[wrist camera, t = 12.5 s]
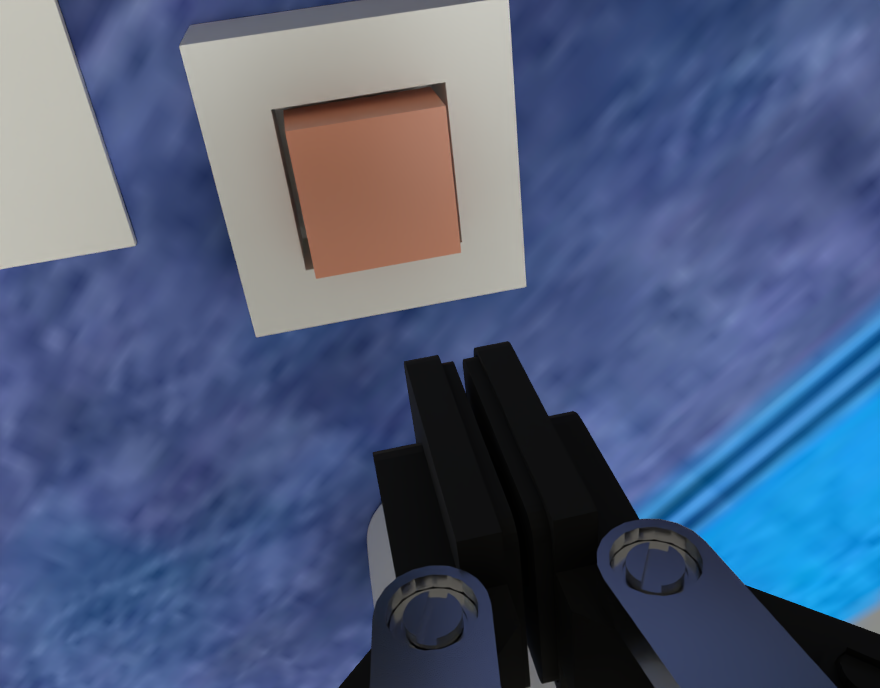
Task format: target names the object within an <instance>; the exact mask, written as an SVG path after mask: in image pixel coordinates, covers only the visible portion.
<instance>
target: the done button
mask: <svg viewBox="0 0 880 688" xmlns="http://www.w3.org/2000/svg"><path fill="white" fill-rule="evenodd" d="M283 113H284V126H285V134H286V139H287V144H288V148H289V153H290V158H291V163H292V167H293V172H294V177H295V182H296V186H297V191H298V196H299V201H300V205H301V210H302V215H303V220H304V224H305V229H306V234H307V239H308V243H309V248H310V253H311V258H312V262H313V267H314V272H315V277H316V279H318V278H324V277H329V276H335V275H340V274H346V273H351V272H357V271H363V270H368V269H374V268H379V267H385V266H390V265H396V264H401V263H407V262H412V261H418V260H423V259H429V258H434V257H440V256H445V255H451V254H456V253H461V246H460V236H459V227H458V217H457V208H456V198H455V189H454V179H453V170H452V160H451V151H450V141H449V132H448V122H447V113H446V105H445V104H444V103H443V102H442V101H441V99H440V98H439V97H438V96H437V94H436V93H435V92H434V91H433V89H432V88H431V87H426V88H419V89H413V90H407V91H400V92H394V93H388V94H381V95H375V96H369V97H362V98H356V99H350V100H344V101H337V102H331V103H325V104H318V105H312V106H306V107H299V108H293V109H287V110H283Z"/></svg>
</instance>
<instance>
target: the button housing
mask: <svg viewBox="0 0 880 688" xmlns="http://www.w3.org/2000/svg"><path fill="white" fill-rule="evenodd" d="M179 48H180V52H181V55H182V59H183V63H184V67H185V70H186V74H187V78H188V82H189V86H190V89H191V93H192V97H193V101H194V104H195V108H196V112H197V116H198V120H199V123H200V127H201V131H202V135H203V139H204V142H205V146H206V150H207V154H208V157H209V161H210V165H211V169H212V173H213V176H214V180H215V184H216V188H217V191H218V195H219V199H220V203H221V207H222V210H223V214H224V218H225V222H226V226H227V229H228V233H229V237H230V241H231V244H232V248H233V252H234V256H235V260H236V263H237V267H238V271H239V275H240V279H241V282H242V286H243V290H244V294H245V297H246V301H247V305H248V309H249V313H250V316H251V320H252V324H253V328H254V331H255V335H256V337H261V336H266V335H272V334H277V333H282V332H288V331H293V330H298V329H304V328H309V327H314V326H320V325H325V324H330V323H336V322H341V321H346V320H352V319H357V318H362V317H368V316H373V315H378V314H384V313H389V312H394V311H400V310H405V309H410V308H416V307H421V306H426V305H432V304H437V303H442V302H448V301H453V300H458V299H464V298H469V297H474V296H480V295H485V294H490V293H496V292H501V291H506V290H512V289H517V288H522V287H526V273H525V257H524V241H523V224H522V208H521V191H520V175H519V159H518V142H517V126H516V110H515V93H514V77H513V61H512V44H511V28H510V12H509V0H359V1H352V2H345V3H339V4H332V5H325V6H318V7H311V8H304V9H297V10H290V11H284V12H277V13H270V14H263V15H256V16H249V17H242V18H236V19H229V20H222V21H215V22H208V23H201V24H194V25H190V26H189V28H188V30H187V31H186V33H185V35H184V37H183V39H182V41H181V43H180V45H179ZM426 87H431V88H432V89H433V91H434V92H435V93H436V94H437V96H438V97H439V98H440V99H441V101H442V102H443V103H444V104H445V105H446V113H447V122H448V132H449V141H450V151H451V160H452V170H453V179H454V189H455V198H456V208H457V217H458V227H459V236H460V246H461V253H456V254H451V255H445V256H440V257H434V258H429V259H423V260H418V261H412V262H407V263H401V264H396V265H390V266H385V267H379V268H374V269H368V270H363V271H357V272H351V273H346V274H340V275H335V276H329V277H324V278H318V279H316V277H315V272H314V267H313V262H312V258H311V253H310V248H309V243H308V239H307V234H306V229H305V224H304V220H303V215H302V210H301V205H300V201H299V196H298V191H297V186H296V182H295V177H294V172H293V167H292V163H291V158H290V153H289V148H288V144H287V139H286V134H285V126H284V113H283V110H287V109H293V108H299V107H306V106H312V105H318V104H325V103H331V102H337V101H344V100H350V99H356V98H362V97H369V96H375V95H381V94H388V93H394V92H400V91H407V90H413V89H419V88H426Z"/></svg>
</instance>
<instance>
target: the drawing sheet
mask: <svg viewBox="0 0 880 688" xmlns="http://www.w3.org/2000/svg"><path fill="white" fill-rule="evenodd" d="M136 244H137V241H136V238H135V235H134V232H133V229H132V226H131V223H130V219H129V216H128V213H127V210H126V207H125V204H124V201H123V198H122V195H121V192H120V189H119V186H118V183H117V180H116V177H115V174H114V171H113V168H112V165H111V162H110V159H109V156H108V153H107V150H106V147H105V144H104V141H103V138H102V135H101V131H100V128H99V125H98V122H97V119H96V116H95V113H94V110H93V107H92V104H91V101H90V98H89V95H88V92H87V89H86V86H85V83H84V80H83V77H82V74H81V71H80V68H79V65H78V62H77V59H76V56H75V53H74V50H73V46H72V43H71V40H70V37H69V34H68V31H67V28H66V25H65V22H64V19H63V16H62V13H61V10H60V7H59V4H58V1H57V0H0V269H5V268H11V267H16V266H22V265H28V264H34V263H40V262H45V261H51V260H57V259H63V258H68V257H74V256H80V255H86V254H92V253H97V252H103V251H109V250H115V249H121V248H126V247H132V246H136Z"/></svg>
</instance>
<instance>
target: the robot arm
mask: <svg viewBox="0 0 880 688" xmlns="http://www.w3.org/2000/svg"><path fill="white" fill-rule="evenodd" d="M404 368H405V375H406V381H407V387H408V393H409V400H410V406H411V412H412V419H413V425H414V431H415V437H416V444H411V445H406V446H401V447H396V448H392V449H387V450H382V451H377V452H373V457H374V463H375V468H376V474H377V479H378V484H379V490H380V495H381V501H382V506H383V511H384V517H385V522H386V528H387V533H388V538H389V544H390V549H391V555H392V560H393V565H394V571H395V576H396V579H395V580H394V581H393V582H391V583H390V584H389V585H388V586H387V587H386V588H385V589H384V590H383V592H382V593H381V595H380V597H379V598H378V600H377V601H376V605H375V609H374V613H373V621H372V645H371V649H370V651H369V652H368V653H367V654H366V655H365V657H364V658H363V659H362V660H361V661H360V663H359V664H358V665H357V666H356V667H355V668H354V670H353V671H352V672H351V673H350V674H349V676H348V677H347V678H346V679H345V680H344V682H343V683H342V684H341V685H340V686H339V688H528V687H530V671H529V659H528V648H529V651H530V654H531V657H532V660H533V663H534V666H535V669H536V672H537V675H538V677H539V680H540V682H541V683H542V684H544V683H549V682H553V681H554V683H555V685H556V688H880V634H877V633H875V632H871V631H869V630H866V629H864V628H861V627H858V626H855V625H853V624H850V623H847V622H845V621H842V620H839V619H836V618H834V617H831V616H828V615H826V614H823V613H820V612H817V611H815V610H812V609H809V608H806V607H804V606H801V605H798V604H796V603H793V602H790V601H787V600H785V599H782V598H779V597H777V596H774V595H771V594H768V593H766V592H763V591H760V590H757V589H755V588H752V587H749V586H747V585H744V584H743V582H742V581H741V580H740V579H739V578H738V577H737V576H736V575H735V574H734V572H733V571H732V570H731V569H730V568H729V567H728V566H727V565H726V564H725V562H724V561H723V560H722V559H721V558H720V557H719V556H718V555H717V554H716V552H715V551H714V550H713V549H712V548H711V547H710V546H709V545H708V544H707V543H706V541H704V540H703V539H702V538H701V537H700V536H698V535H697V534H696V533H695V532H694V531H692V530H690V529H688V528H686V527H684V526H682V525H680V524H678V523H674V522H670V521H666V520H661V519H639V518H638V516H637V514H636V512H635V511H634V509H633V507H632V506H631V504H630V502H629V500H628V499H627V497H626V495H625V493H624V492H623V490H622V488H621V487H620V485H619V483H618V481H617V480H616V478H615V476H614V475H613V473H612V471H611V469H610V468H609V466H608V464H607V462H606V461H605V459H604V457H603V456H602V454H601V452H600V450H599V449H598V447H597V445H596V443H595V442H594V440H593V438H592V437H591V435H590V433H589V431H588V430H587V428H586V426H585V424H584V423H583V421H582V419H581V418H580V416H579V415H578V414H577V413H576V412H574V411H572V412H567V413H562V414H557V415H552V416H548V414H547V413H546V411H545V409H544V407H543V405H542V403H541V401H540V399H539V397H538V395H537V393H536V391H535V390H534V388H533V386H532V384H531V382H530V380H529V378H528V376H527V374H526V372H525V370H524V368H523V367H522V365H521V363H520V361H519V359H518V357H517V355H516V353H515V351H514V349H513V347H512V345H511V344H510V342H508V341H507V342H502V343H497V344H492V345H487V346H481V347H476V348H474V357H472V358H467V359H463V371H464V380H465V389H466V393H465V390H464V388H463V385H462V382H461V380H460V377H459V375H458V372H457V369H456V367H455V364H454V362H453V361H452V362H447V363H442V364H441V361H440V358H439V356H438V355H435V356H430V357H425V358H420V359H415V360H409V361H404ZM527 645H528V646H527Z"/></svg>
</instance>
